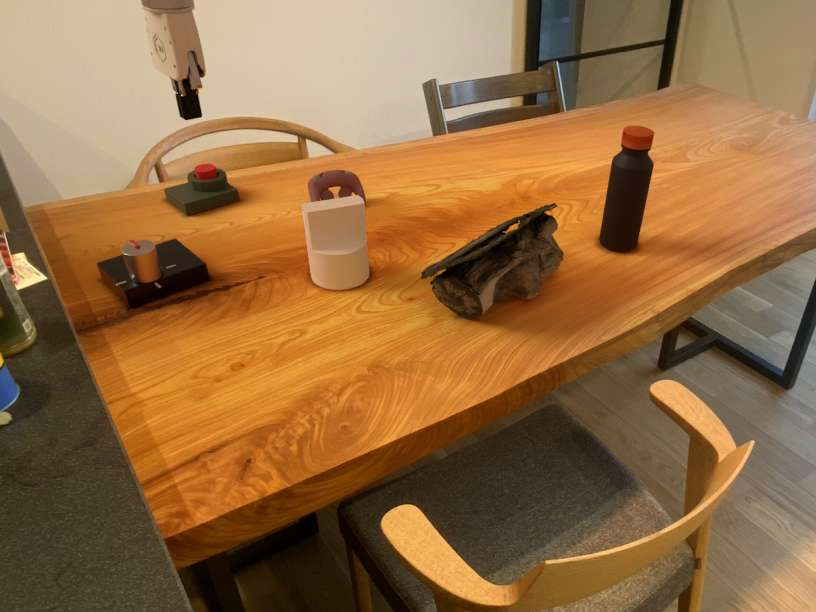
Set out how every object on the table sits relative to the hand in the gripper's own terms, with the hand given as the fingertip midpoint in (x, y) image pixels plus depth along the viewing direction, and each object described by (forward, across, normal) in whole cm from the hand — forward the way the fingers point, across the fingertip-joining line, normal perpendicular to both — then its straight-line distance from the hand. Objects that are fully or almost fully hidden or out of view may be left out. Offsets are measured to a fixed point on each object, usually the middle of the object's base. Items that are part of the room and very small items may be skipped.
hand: (191, 117), depth 118 cm
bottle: (+13, +60, +46) cm, 77 cm away
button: (+11, 0, +1) cm, 11 cm away
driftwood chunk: (+14, +57, +18) cm, 61 cm away
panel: (+15, +23, -20) cm, 34 cm away
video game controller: (+14, +17, +17) cm, 28 cm away
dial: (+11, +25, -21) cm, 35 cm away
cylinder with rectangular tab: (+14, +38, +3) cm, 41 cm away
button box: (+14, +1, -1) cm, 15 cm away
